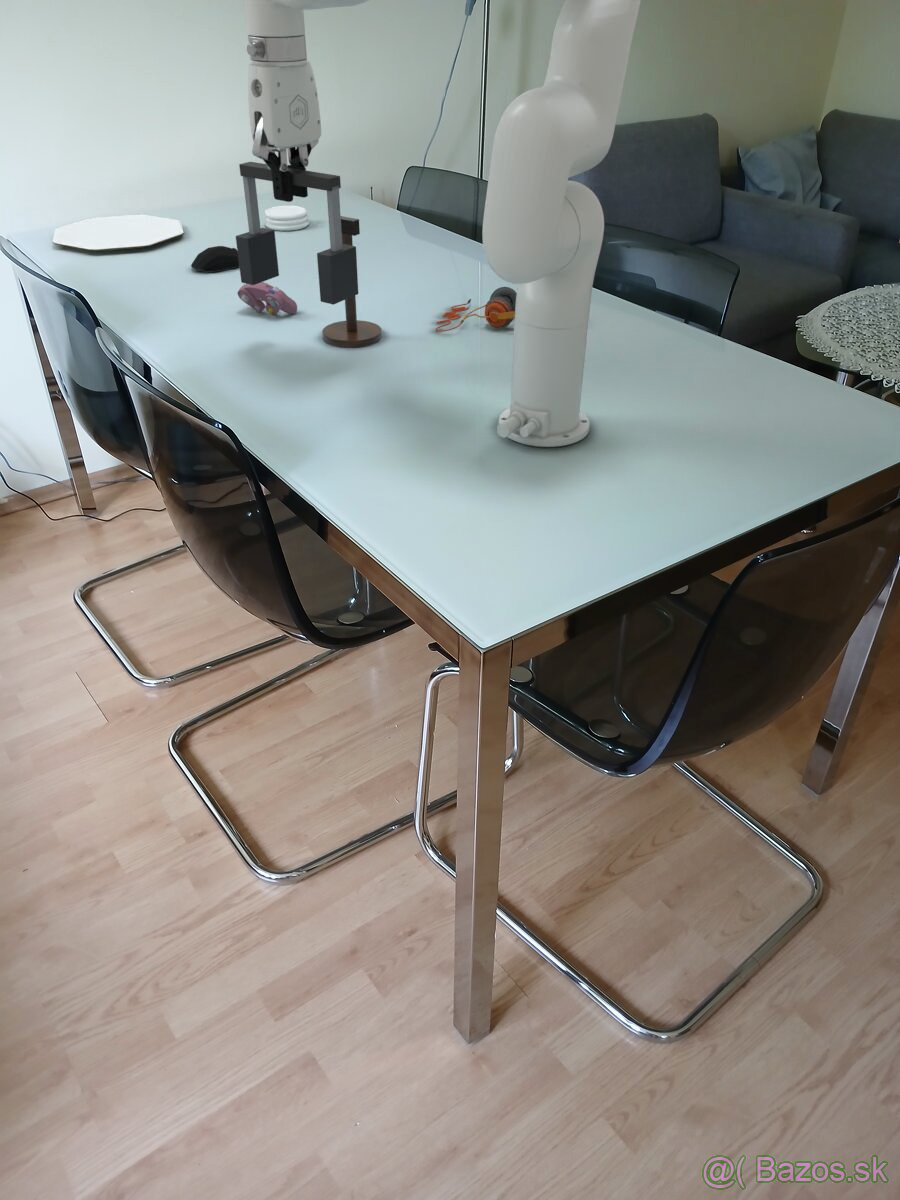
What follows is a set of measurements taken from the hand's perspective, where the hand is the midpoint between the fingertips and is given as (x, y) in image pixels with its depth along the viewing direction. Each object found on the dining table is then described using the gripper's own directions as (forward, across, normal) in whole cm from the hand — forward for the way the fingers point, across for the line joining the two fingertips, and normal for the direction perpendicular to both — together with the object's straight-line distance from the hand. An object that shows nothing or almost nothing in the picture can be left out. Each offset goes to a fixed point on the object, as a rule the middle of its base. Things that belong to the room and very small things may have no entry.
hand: (291, 197), depth 132 cm
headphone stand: (+24, +12, 0) cm, 27 cm away
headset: (+13, 0, 0) cm, 13 cm away
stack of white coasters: (+25, +61, +58) cm, 88 cm away
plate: (+25, +32, +82) cm, 91 cm away
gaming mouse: (+25, +30, +47) cm, 61 cm away
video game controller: (+25, +13, +20) cm, 34 cm away
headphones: (+25, +32, -16) cm, 43 cm away
